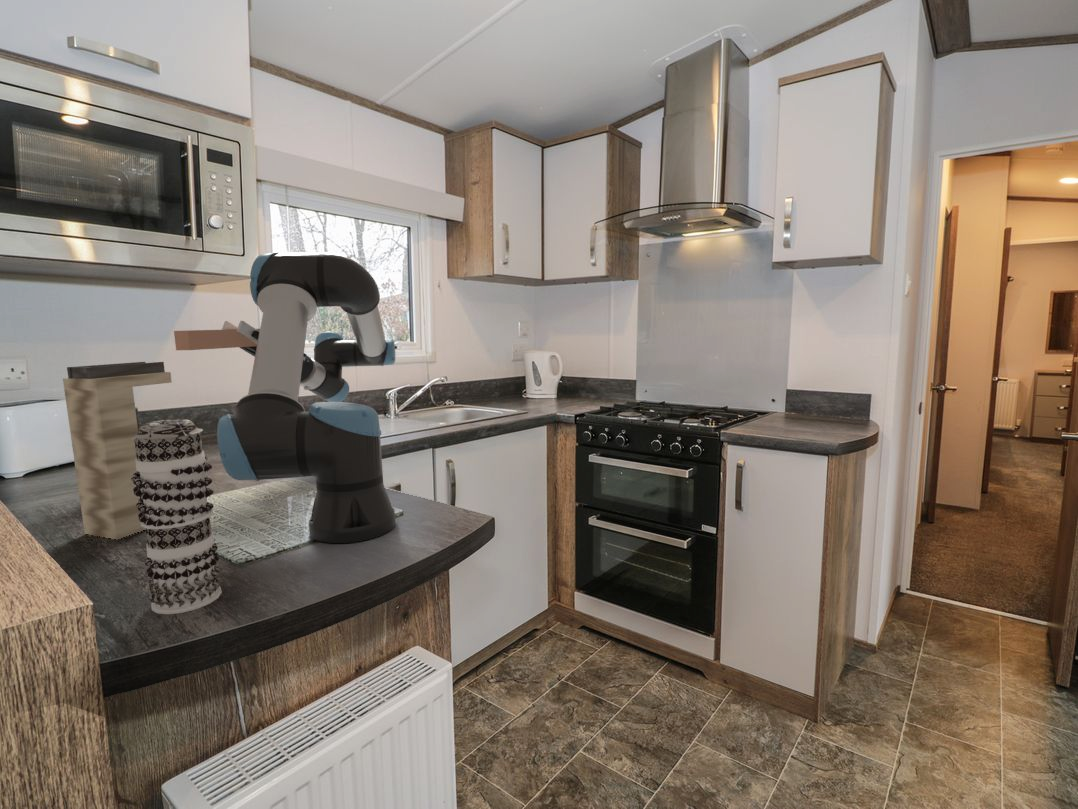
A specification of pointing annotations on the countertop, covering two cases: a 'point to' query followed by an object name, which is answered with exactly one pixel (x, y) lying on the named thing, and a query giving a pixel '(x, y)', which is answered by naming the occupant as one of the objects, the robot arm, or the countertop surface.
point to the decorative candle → (176, 516)
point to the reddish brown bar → (210, 339)
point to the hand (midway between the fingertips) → (231, 326)
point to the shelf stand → (107, 442)
